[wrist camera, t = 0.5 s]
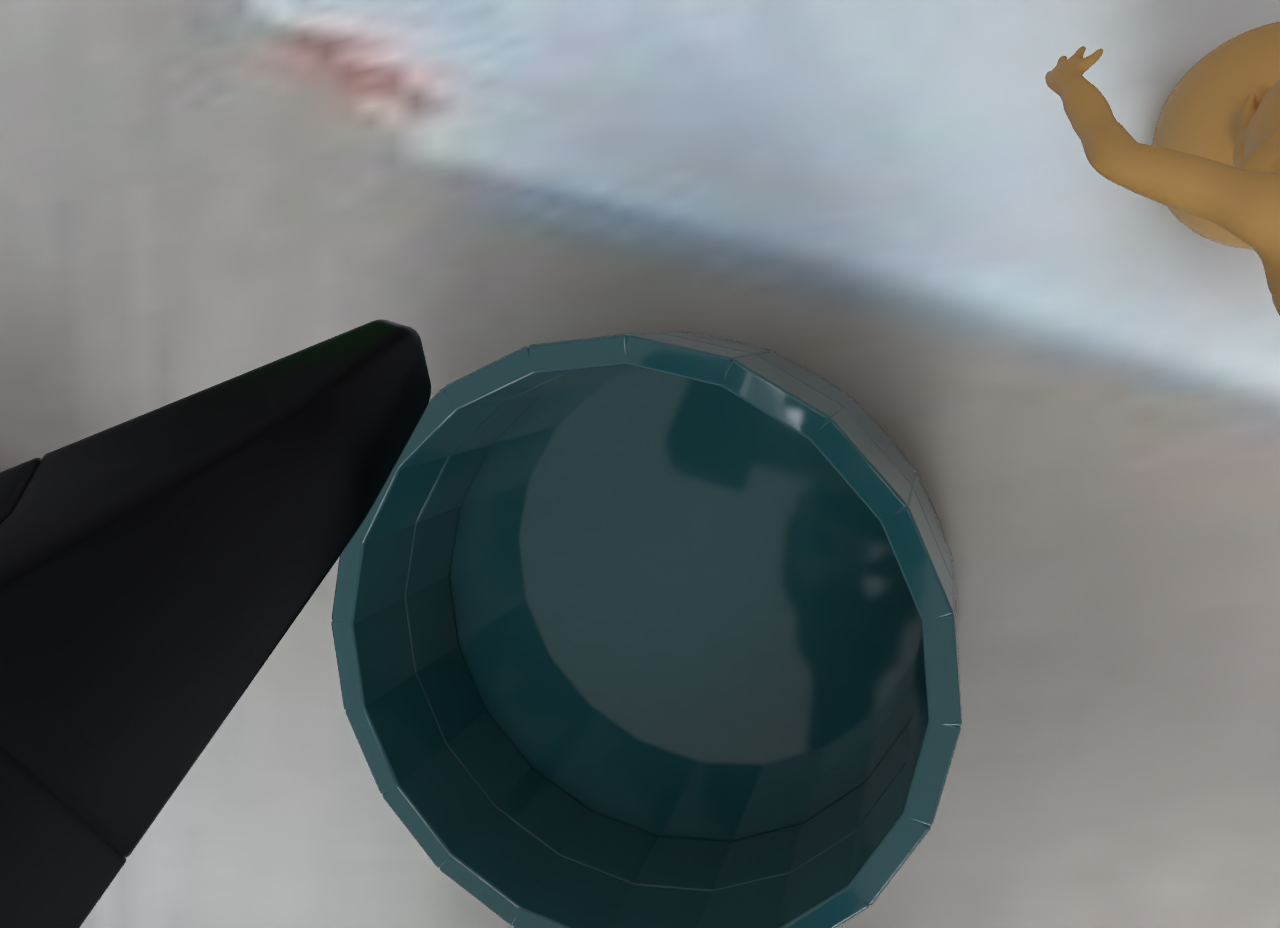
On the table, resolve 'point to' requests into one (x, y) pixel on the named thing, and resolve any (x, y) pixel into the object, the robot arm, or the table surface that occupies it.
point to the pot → (654, 639)
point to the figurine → (1199, 143)
